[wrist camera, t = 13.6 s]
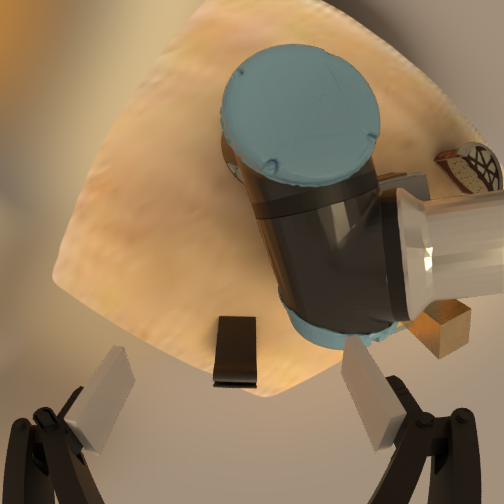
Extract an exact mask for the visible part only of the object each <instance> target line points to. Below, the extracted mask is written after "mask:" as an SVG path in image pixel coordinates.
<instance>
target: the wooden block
mask: <svg viewBox="0 0 504 504" xmlns="http://www.w3.org/2000/svg"><path fill="white" fill-rule="evenodd" d="M470 318H471V308H469V307H468V306H466V305H465V304H463V303H461V302H460V301H458V300H456V299H451V300H441V301H433V302H432V303H430V304H429V305H428V306H427V307H426V308H425V309H424V310H423V312H422V313H421V314H420V315H419V316H418V317H417V318H416V320H413V321H400V322H401V323H402V324H403V325H404V326H405V327H406V328H407V329H408V330H409V331H410V332H411V333H412V334H414V335H415V336H416V337H417V338H418V339H419V340H420V341H421V342H422V343H423V344H424V345H425V346H426V347H427V348H428V349H429V350H430V351H431V352H432V353H433V354H434V355H435V356H436V357H437V358H438V359H441V358H443V357H445V356H446V355H448V354H450V353H451V352H453V351H455V350H457V349H459V348H460V347H462V346H464V345H465V344H467V343H468V340H469V330H470Z"/></svg>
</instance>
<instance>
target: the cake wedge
mask: <svg viewBox="0 0 504 504" xmlns="http://www.w3.org/2000/svg"><path fill="white" fill-rule="evenodd" d="M434 162H435V163H436V164H437V165H438V166H439V167H440V168H441V169H442V170H443V172H444V173H445V174H446V175H447V176H448V177H449V178H450V179H451V181H452V182H453V183H454V184H455V185H456V186H457V188H458V189H459V190H460V191H461V192H462V193H464V194H468V195H469V194H476V193H483V192H490V191H497V190H503V176H502V171H501V167H500V164H499V161H498V159H497V157H496V156H495V154H494V153H493V152H492V150H490V149H489V148H488V147H486V146H485V145H483V144H480V143H476V142H468V143H466V144H464V145H463V146H462V147H461V148H459V149H454V150H449V151H445V152H442V153H440V154H439V155H437V157H436V158H435V160H434Z"/></svg>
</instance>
